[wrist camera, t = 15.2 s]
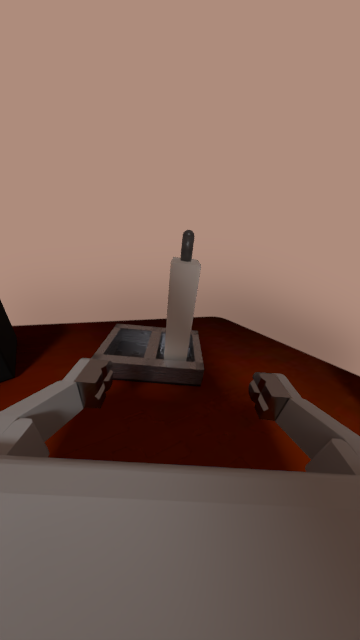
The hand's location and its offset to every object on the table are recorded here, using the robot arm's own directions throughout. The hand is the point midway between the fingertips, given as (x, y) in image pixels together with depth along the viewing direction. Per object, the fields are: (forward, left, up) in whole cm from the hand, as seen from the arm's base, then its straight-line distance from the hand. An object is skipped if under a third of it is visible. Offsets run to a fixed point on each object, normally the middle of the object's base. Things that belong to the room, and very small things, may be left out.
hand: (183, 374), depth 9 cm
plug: (-8, +9, -9) cm, 15 cm away
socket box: (-10, +7, -10) cm, 16 cm away
